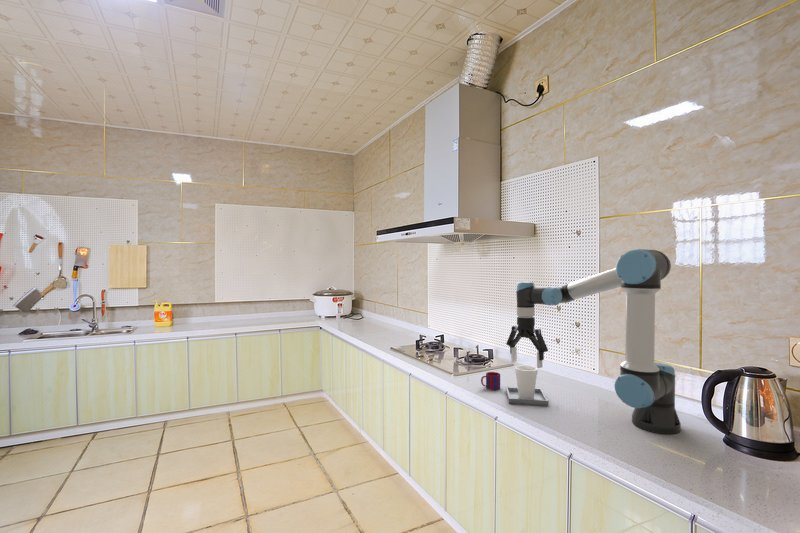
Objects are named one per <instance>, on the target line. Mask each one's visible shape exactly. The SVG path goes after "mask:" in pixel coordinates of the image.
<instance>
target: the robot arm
mask: <svg viewBox="0 0 800 533" xmlns="http://www.w3.org/2000/svg"><path fill="white" fill-rule="evenodd" d="M671 265H672V264H671V260H670V259H669V257H668V256H667V255H666V254H665V253H664V252H662V251H661V250H656V249H642V248H638V249H636V248H635V249H631V250H628V251H626V252H624V253H623V254H622V255H620V256H619V258H618V259H617V261H616V263H615V268H612V269H608V270H606V271H603V272H600V273H596V274H593V275H590V276H587V277H584V278H581V279H578V280H575V281H572V282H568V283H565V284H562V285H555V286H535V283H534V282H533V281H519V282H517V283H516V291H515V293H516V294H515V295H516V316H517V318H516V325H513V326H511V331H510V334H509V337H508V338H507V340H506V343H505V344H506V346H509V352H510V355H511V356H510V358H511V363H515V362H517V359H518V357H517V354H518V353H517V352H518V351H517V344H518V343H519V342H520V340H521V338H523V339H524V338H525V339H529V340H530V341H531V343H532V344H533V346H534V347H535V349H536V350H537V352H536V368H537V369H541V368H543V361H545V360H544V359H545V358H544V357H545V355H544V354H545V353H546V352H549V349H548V346H547V344H546V342H545V339H544V337H543V335H542V330H541V328H536V329H535V325H536V319H535V316H536V314H535V313H536V312H535V305H545V306H558V305H560V304H563V303H564V304H567V303H570V302H572V301H573V302H574V301H575V300H579V299H582V298H586V297H590V296H592V295H596V294H601V293H603V292H607V291H611V290H614V289H619V288H621V289H622V290H623V291H624V292H625V294H626V295H625V348H624V349H625V350H624V351H625V355H624V356H625V358H624V359H625V360H624V361H622V362H621V363H620V364H619V365H620V369H619V370H620V372H619V373H620V375H619V376H618V377H617V378H616V380H615V382H614V391H615V393H616V396H617V397H618V399H619V400H621V402H623V403H624V404H626V406H629V407H631V408H634V409H633V411H632V413H631V423H632V424H633V425H634V426H636V427H637V428H640V429H643V430H645V431H648V432H652V433H656V434H665V435H675V434H679V433H680V432H681V429H682V425H681V421H680V418H679V415H678V412H677V410H676V407H675V406H676V403H675V401H676V400H675V399H676V372H675V370H676V369H675V368H674V367H673V366H672V365H669V364H665V363H661V362H655V341H656V339H655V336H656V335H655V330H656V329H655V327H656V325H655V324H656V319H655V318H656V293H658V292H659V291H661V288H662V287H661V286H662V284H661V283H662V282H661V281H662V280H664V279H665V278H666V277H667V276H668V275H669V274H670V271H671V268H672V266H671Z"/></svg>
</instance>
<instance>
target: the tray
mask: <svg viewBox="0 0 800 533" xmlns="http://www.w3.org/2000/svg"><path fill="white" fill-rule="evenodd" d="M505 394H506V397H507V401H508V405H521V406H522V405H526V406H540V407H542V406H543V407H549V399H548V398H547V396H546V393H545V392H544V391H543V388H536V387H535V393H534V398H533V399H522V398H520V397H519V394H518V387H514V386H505Z"/></svg>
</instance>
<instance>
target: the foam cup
mask: <svg viewBox="0 0 800 533" xmlns="http://www.w3.org/2000/svg"><path fill="white" fill-rule="evenodd" d="M514 373H515V380H516V386H517V388H518V394H519V397H520V398H522V399H533V398H534V393H535V388H536V385H537V379H538V377H537V376H538V368H537V366H533V365H525V364H524V365H521V364H520V365H515V367H514Z"/></svg>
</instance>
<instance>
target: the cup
mask: <svg viewBox="0 0 800 533" xmlns="http://www.w3.org/2000/svg"><path fill="white" fill-rule="evenodd" d="M484 378H485V384H484V381H483V380H484ZM480 383H481V385H482V386H483V387H485V388H486V389H487V390H490V391H498V390H500V389H501V373H500V372H494V371H488V372H486V373H485V375H482V377H481V379H480Z"/></svg>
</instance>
